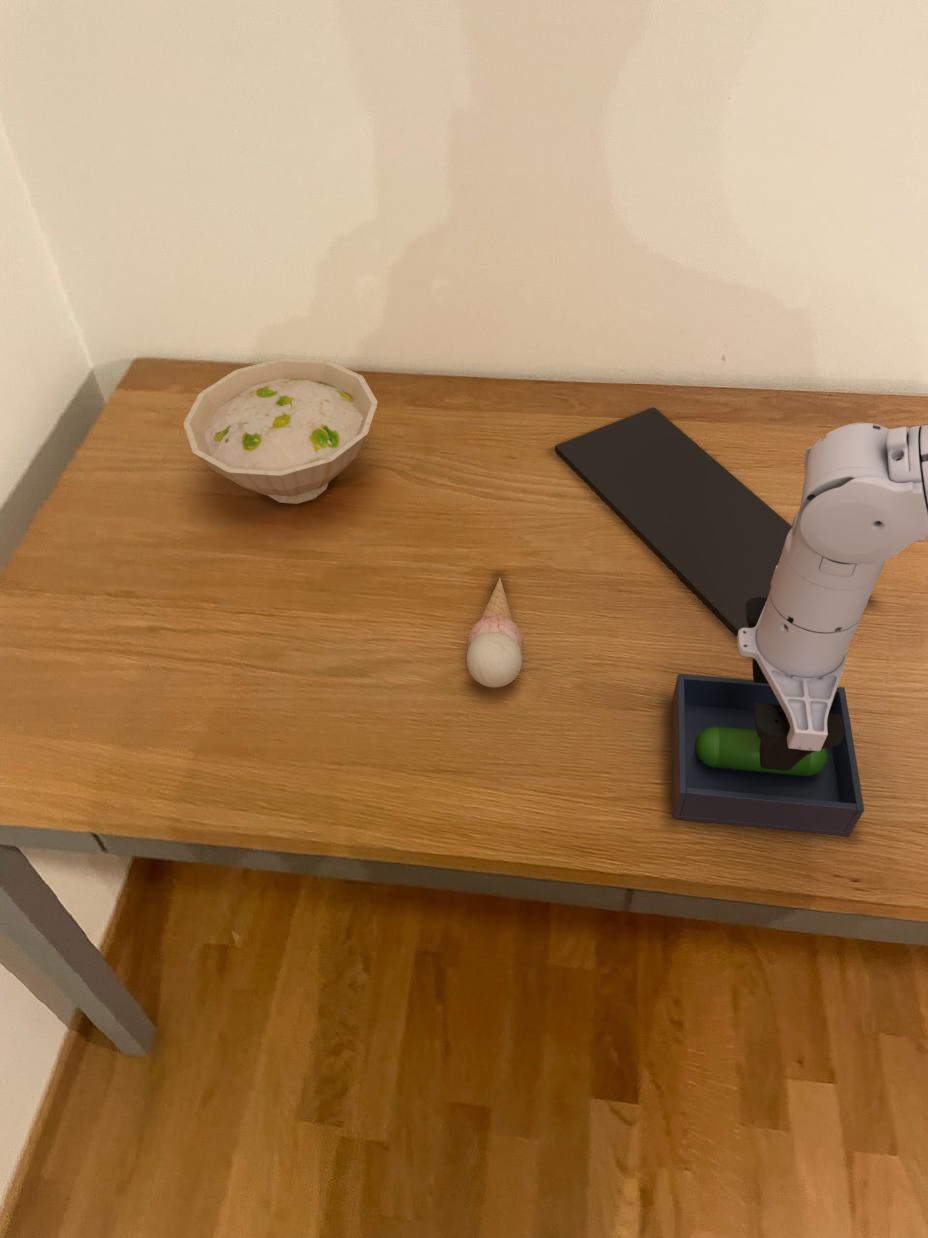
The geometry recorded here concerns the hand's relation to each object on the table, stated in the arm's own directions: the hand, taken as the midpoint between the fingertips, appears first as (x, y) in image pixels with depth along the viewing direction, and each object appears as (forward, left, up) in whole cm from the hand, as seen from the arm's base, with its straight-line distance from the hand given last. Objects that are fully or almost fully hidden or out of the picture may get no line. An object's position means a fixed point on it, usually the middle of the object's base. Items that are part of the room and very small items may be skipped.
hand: (770, 721), depth 69 cm
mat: (+25, -14, -6) cm, 29 cm away
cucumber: (0, 0, -4) cm, 4 cm away
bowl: (+51, +19, -6) cm, 55 cm away
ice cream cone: (+21, +11, -6) cm, 25 cm away
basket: (0, 0, -6) cm, 6 cm away
